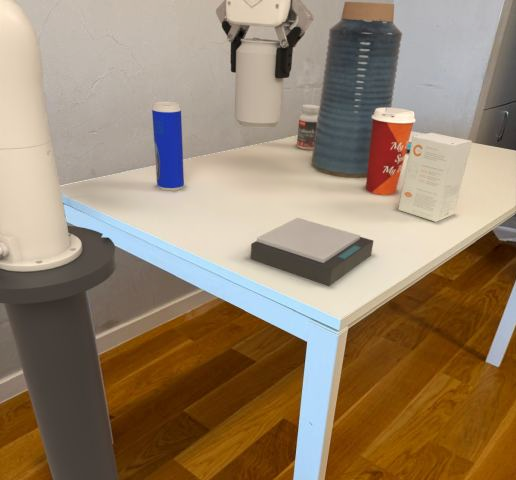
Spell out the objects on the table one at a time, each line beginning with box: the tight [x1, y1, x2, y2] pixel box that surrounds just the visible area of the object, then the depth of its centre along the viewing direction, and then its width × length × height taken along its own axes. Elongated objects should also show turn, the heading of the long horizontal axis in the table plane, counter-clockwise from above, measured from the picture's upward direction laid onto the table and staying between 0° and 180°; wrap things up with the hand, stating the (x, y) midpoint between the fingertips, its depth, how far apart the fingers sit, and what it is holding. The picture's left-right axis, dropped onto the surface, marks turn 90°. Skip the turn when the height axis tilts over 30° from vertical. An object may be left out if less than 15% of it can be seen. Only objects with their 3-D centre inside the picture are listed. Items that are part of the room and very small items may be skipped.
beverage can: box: [151, 101, 185, 192], centre depth 94 cm, size 5×5×15 cm
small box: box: [398, 132, 473, 223], centre depth 89 cm, size 8×6×13 cm
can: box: [234, 37, 285, 129], centre depth 79 cm, size 8×8×12 cm
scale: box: [250, 217, 374, 287], centre depth 73 cm, size 13×13×3 cm
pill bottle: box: [296, 104, 319, 151], centre depth 128 cm, size 6×6×10 cm
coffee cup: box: [365, 107, 416, 196], centre depth 99 cm, size 8×8×15 cm
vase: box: [311, 1, 403, 178], centre depth 107 cm, size 16×16×32 cm
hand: (259, 74), depth 78 cm, fingers closed on can, 7 cm apart
